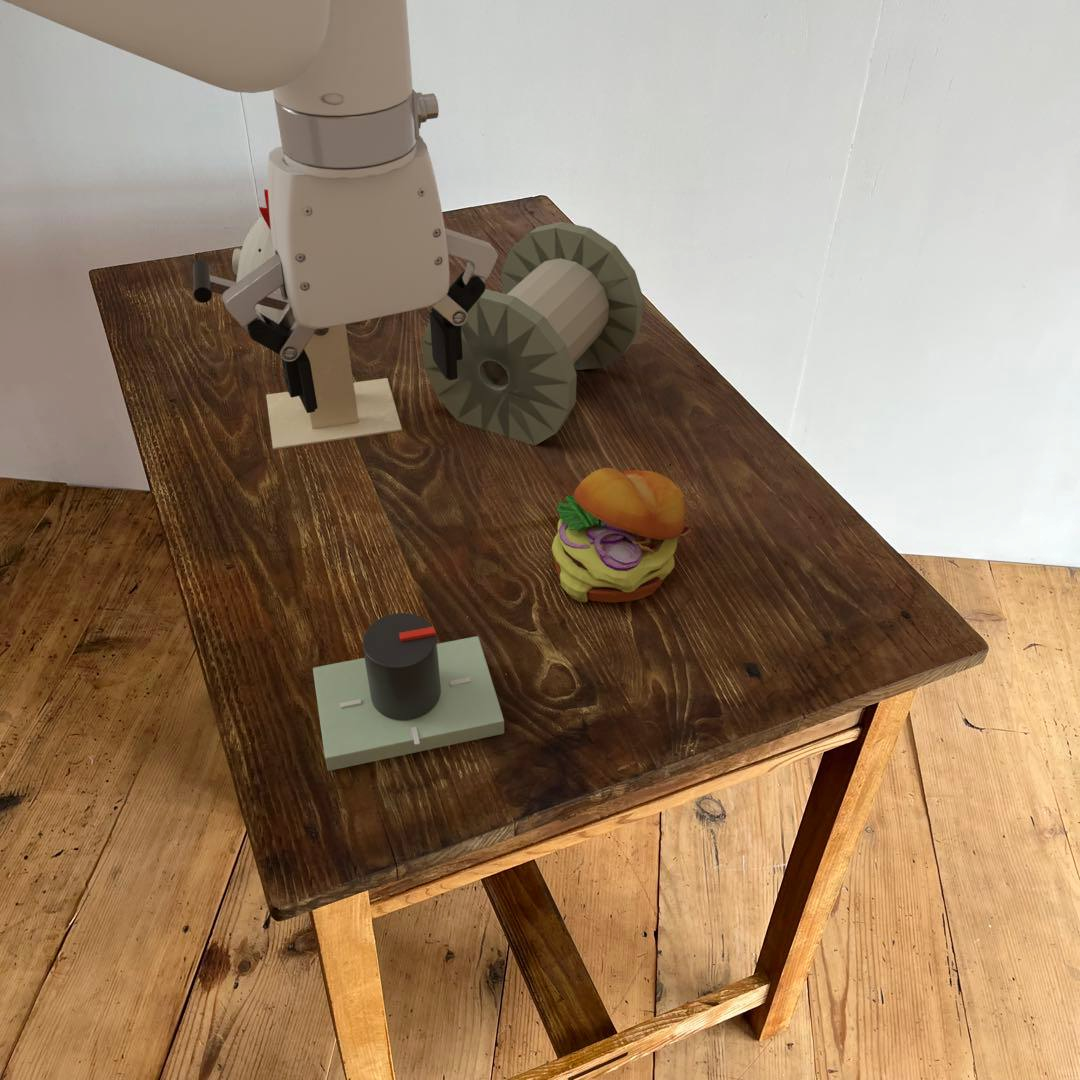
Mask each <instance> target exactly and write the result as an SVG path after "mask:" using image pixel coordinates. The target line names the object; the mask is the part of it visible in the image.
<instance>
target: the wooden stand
mask: <svg viewBox="0 0 1080 1080" xmlns="http://www.w3.org/2000/svg"><path fill="white" fill-rule="evenodd" d="M304 350H305V352H306V354H307V356H308V358H309V360H310V364H311V370H312V377H313V383H314V389H315V395H316V401H317V407H318V409H315V412H311V413H307V412H306V410H305V408H304V406H303V403H302V401H301V399H300V397H299V396H297V397H292V398H291V396H290V394H289V392H288V391H283V392H275V393H267V394H266V395H265V396H266V397H265V398H266V404H267V413H268V420H269V421H268V422H269V429H270V439H271V446H272V450H273V451H274V450H275V451H276V450H282V449H289V448H295V447H303V446H310V445H315V444H323V443H328V442H336V441H343V440H349V439H357V438H363V437H370V436H376V435H382V434H389V433H390V434H391V433H397V432H402V431H403V428H402V427H403V426H402V424H401V421H400V417H399V413H398V411H397V407H396V403H395V399H394V396H393V392H392V389H391V385H390V382H389V378H388V377H385V378H384V377H383V378H378V379H370V380H369V379H368V380H362V381H355V382H354V376H353V369H352V361H351V354H350V348H349V340H348V332H347V324H344V325H339V326H334V327H328V328H321V329H317V330H316V331H315V333H314V334H313V336H312V337H311V339H310V340H309V342H308V343H307V345H306V347H305V348H304Z"/></svg>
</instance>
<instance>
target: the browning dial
mask: <svg viewBox="0 0 1080 1080" xmlns="http://www.w3.org/2000/svg"><path fill="white" fill-rule="evenodd" d="M361 643H362V645H361V646H362V651H363V658H365V664H366V670H367V676H368V682H369V689H370V695H371V700H372V703H373V705H374V707H375V708H376V709H377V711H378V712H380V713H381V714H382V715H384V716H386V717H388V718H391V719H395V720H411V719H415V718H418V717H421V716H423V715H425V714H426V713H428V712H429V711H430V710H432V709H433V708H434V706H435V705H436V704H437V702H438V700H439V698H440V694H441V685H440V673H439V662H438V651H437V644H438V639H437V633H436V630H435V627H434V626H433V625H432V623H430V621H428V620H427V619H425V618H424V617H422V616H419V615H418V614H413V613H407V612H397V613H392V614H387V615H385V616H382V617H380V618H379V619H376V620H375V621H374V622H372V624H370V625H369V626H368V628H367V629H366V631H365V632H364V634H363V637H362V642H361Z"/></svg>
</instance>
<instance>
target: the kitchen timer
mask: <svg viewBox="0 0 1080 1080" xmlns="http://www.w3.org/2000/svg"><path fill="white" fill-rule="evenodd" d="M263 193H264V202H265V206H266V207H264V206H263V207H262V206H259V207H258V210H259V212H260V217H259V218H258V219H257V220H256V221H255V223H254V224H253V225H252V226H251V228H250V229H249V231H248V233H247V235H246V237H245V239H244V241H243V244H242V246H241V249H240V248H235V249H234V250H233V253H232V257H231V258H232V259H231V261H232V262H231V264H232V271H233V274H234V275H235V276H236V281H235V282H239V281H240V280H241V279H243V278H244V277H245V276H247V275H248V274H250V273H251V272H252V271H254V270H255V269H257V268H258V267H259V266H261V265H262V264H263V263H265V262H266V261H268V260H269V259H270V258H272V257H273V256H274V253H273V245H272V236H271V227H270V215H269V200H268V189H265V188H264V189H263ZM273 293H277V294H281V292H280V289H279V288H278V289H277V290H275V291H274V292H273ZM255 309H256V310H257V311H258V312H259V313H261V314H263V315H264V316H266V317H268V318H269V319H271V320H273V321H274V322H276V321H277V320H278V318H279V316H280V315H281V313H282V312H283V311H282V310H278V309H274V308H271V307H267V306H263V305H260V304H257V305H256V307H255Z"/></svg>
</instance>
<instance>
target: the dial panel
mask: <svg viewBox="0 0 1080 1080" xmlns="http://www.w3.org/2000/svg"><path fill="white" fill-rule="evenodd" d="M437 651H438V662H439V673H440V685H441V694H440V698H439V700H438V702H437V704H436V705H435V706H434V708H433V709H432V710H430V711H429V712H428V713H426V714H425V715H423V716H421V717H418V718H415V719H411V720H395V719H391V718H388V717H386V716H384V715H382V714H381V713H380V712H378V711H377V709H376V708H375V707H374V705H373V703H372V700H371V695H370V689H369V682H368V676H367V670H366V664H365V658H364V657H362V658H357V659H352V660H345V661H341V662H335V663H331V664H330V663H329V664H326V665H320V666H315V667H313V668H312V673H313V681H314V688H315V695H316V702H317V710H318V717H319V726H320V731H321V740H322V747H323V755H324V761H325V765H326V770H327V771H329V772H331V771H335V770H338V769H344V768H348V767H349V768H350V767H353V766H357V765H358V766H359V765H364V764H367V763H373V762H377V761H382V760H386V759H391V758H396V757H401V756H406V755H409V754H415V753H419V752H424V751H428V750H429V751H430V750H434V749H439V748H442V747H448V746H452V745H457V744H462V743H466V742H471V741H472V742H473V741H476V740H480V739H485V738H489V737H495V736H499V735H503V734H505V719H504V716H503V711H502V709H501V706H500V702H499V700H498V696H497V692H496V689H495V686H494V683H493V679H492V676H491V672H490V669H489V666H488V663H487V659H486V657H485V656H486V655H485V653H484V649H483V646H482V642H481V639H480V637H479V636H478V635H476V636H471V637H466V638H461V639H456V640H449V641H445V642H440V643H437Z"/></svg>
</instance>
